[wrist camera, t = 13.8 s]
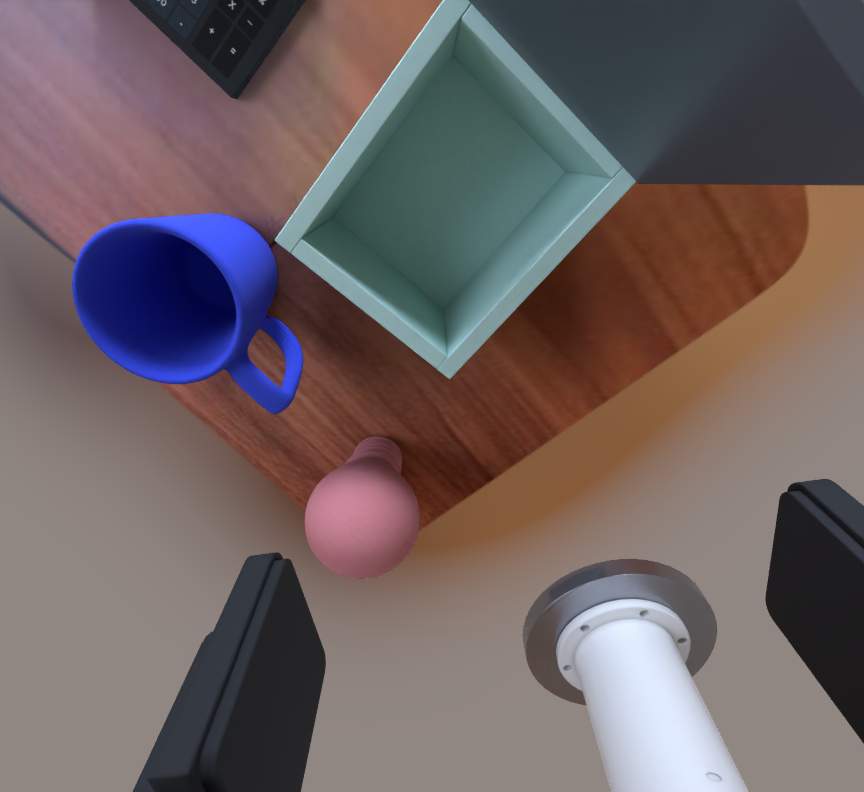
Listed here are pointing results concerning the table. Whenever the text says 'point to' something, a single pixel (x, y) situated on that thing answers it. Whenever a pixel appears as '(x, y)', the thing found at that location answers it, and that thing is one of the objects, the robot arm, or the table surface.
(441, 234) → the mint green open box
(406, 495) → the light bulb
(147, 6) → the calculator
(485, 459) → the table surface
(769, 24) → the lid
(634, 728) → the robot arm
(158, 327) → the mug
